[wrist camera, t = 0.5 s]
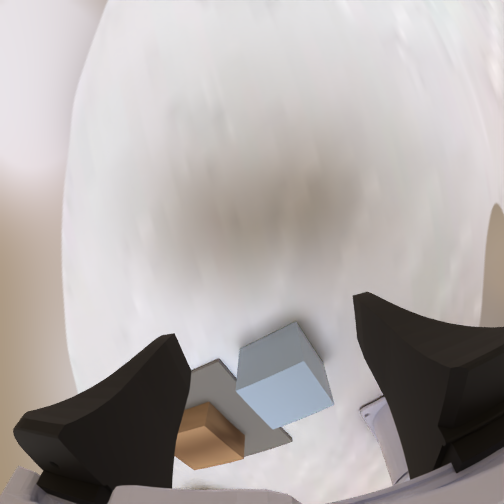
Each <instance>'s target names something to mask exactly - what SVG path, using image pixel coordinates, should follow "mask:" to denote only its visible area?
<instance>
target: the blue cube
mask: <svg viewBox="0 0 504 504" xmlns="http://www.w3.org/2000/svg"><path fill="white" fill-rule="evenodd" d="M236 392H237V393H238V394H239V395H240V396H241V397H242V398H243V400H244V401H245V402H246V403H247V404H248V405H249V406H250V407H251V408H252V409H253V410H254V411H255V412H256V413H257V414H258V415H259V416H260V417H261V418H262V419H263V420H264V421H265V422H266V423H267V424H268V425H269V426H270V427H271V428H272V429H276V428H279V427H281V426H284V425H287V424H289V423H292V422H295V421H297V420H300V419H302V418H305V417H307V416H309V415H312V414H314V413H317V412H319V411H321V410H324V409H326V408H328V407H330V406H333V405H334V401H333V397H332V394H331V390H330V386H329V382H328V379H327V375H326V371H325V368H324V364H323V362H322V361H321V359H320V358H319V356H318V355H317V353H316V351H315V350H314V348H313V347H312V345H311V344H310V342H309V341H308V339H307V338H306V336H305V334H304V333H303V331H302V330H301V328H300V327H299V325H298V324H297V322H296V321H295V322H293V323H291V324H289V325H287V326H285V327H283V328H282V329H280V330H278V331H276V332H274V333H272V334H270V335H268V336H266V337H263V338H261V339H259V340H257V341H255V342H253V343H251V344H249V345H247V346H245V347H243V348H241V349H240V351H239V361H238V371H237V381H236Z"/></svg>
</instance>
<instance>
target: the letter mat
mask: <svg viewBox="0 0 504 504" xmlns="http://www.w3.org/2000/svg"><path fill="white" fill-rule="evenodd" d="M236 381H237V379H236V378H235V377H234V376H233V375H232V374H231V372H230V371H229V370H228V369H227V368H226V367H225V365H224V364H223V363H222V362H221V361H220V359H217V360H215V361H213V362H211V363H209V364H206V365H204V366H202V367H199V368H197V369H195V370H192V372H191V383H190V390H189V395H188V399H187V402H186V406H185V410H186V409H189V408H192V407H195V406H198V405H201V404H204V403H207V402H210V403H211V404H212V405H213V406H214V407H215V408H216V409H217V410H218V411H219V412H220V413H221V414H222V415H223V416H224V417H225V418H226V419H227V420H229V421H230V422H231V423H232V424H233V425H234V426H235V427H236V428H237V429H238V430H239V431H240V432H241V433H243V434H244V435H245V448H244V457H245V456H249V455H252V454H256V453H259V452H262V451H266V450H269V449H272V448H275V447H278V446H281V445H284V444H287V443H290V442H292V438H291V437H290V436H289V435H288V434H287V433H286V432H285V431H284V430H283V429H282V428H281V427H279V428H276V429H272V428H271V427H270V426H269V425H268V424H267V423H266V422H265V421H264V420H263V419H262V418H261V417H260V416H259V415H258V414H257V413H256V412H255V411H254V410H253V409H252V408H251V407H250V406H249V405H248V404H247V403H246V402H245V401H244V400H243V398H242V397H241V396H240V395H239V394H238V393H237V392H236Z"/></svg>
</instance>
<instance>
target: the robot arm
mask: <svg viewBox="0 0 504 504" xmlns="http://www.w3.org/2000/svg"><path fill="white" fill-rule="evenodd" d="M353 302H354V311H355V320H356V330H357V339H358V342H359V345H360V347H361V350H362V353H363V356H364V358H365V360H366V362H367V364H368V366H369V368H370V370H371V372H372V374H373V376H374V377H375V379H376V381H377V383H378V385H379V387H380V389H381V391H382V393H383V395H384V397H383V398H381V399H379V400H377V401H375V402H373V403H371V404H369V405H367V406H365V407H363V408H362V409H361V410H360V414H361V416H362V417H363V419H364V420H365V422H366V424H367V425H368V427H369V428H370V430H371V432H372V433H373V435H374V436H375V438H376V440H377V441H378V443H379V445H380V448H381V450H382V453H383V456H384V459H385V462H386V466H387V469H388V472H389V475H390V478H391V481H392V484H393V486H392V487H389V488H385V489H382V490H379V491H376V492H372V493H369V494H365V495H362V496H358V497H354V498H350V499H346V500H341V501H337V502H332V503H327V504H504V327H497V328H488V327H471V326H462V325H456V324H450V323H445V322H441V321H437V320H434V319H430V318H427V317H424V316H421V315H418V314H415V313H413V312H410V311H408V310H405V309H403V308H401V307H399V306H396V305H394V304H392V303H390V302H388V301H386V300H384V299H382V298H380V297H378V296H376V295H374V294H372V293H369V292H365V293H361V294H357V295H353ZM191 372H192V371H191V369H190V367H189V365H188V363H187V360H186V358H185V356H184V354H183V352H182V349H181V347H180V345H179V343H178V340H177V338H176V336H175V333H174V334H167V335H161V336H160V337H158V338H157V339H155V340H154V341H153V342H151V343H150V344H149V345H148V346H147V347H145V348H144V349H143V350H142V351H141V352H139V353H138V354H137V355H136V356H135V357H133V358H132V359H131V360H130V361H129V362H127V363H126V364H125V365H123V366H122V367H121V368H119V369H118V370H117V371H116V372H114V373H113V374H112V375H110V376H109V377H107V378H106V379H104V380H103V381H101V382H100V383H98V384H96V385H95V386H93V387H91V388H89V389H88V390H86V391H84V392H82V393H80V394H78V395H76V396H74V397H72V398H69V399H67V400H65V401H62V402H59V403H57V404H54V405H51V406H48V407H44V408H40V409H37V410H33V411H28V412H26V413H25V414H24V415H23V416H22V418H21V419H20V421H19V422H18V423H17V425H16V426H15V428H14V430H13V433H14V436H15V439H16V440H17V442H18V444H19V445H20V446H21V447H22V449H23V450H24V451H25V452H26V453H27V454H28V455H29V456H30V457H31V458H32V459H33V460H34V462H35V463H36V464H38V466H39V467H40V468H41V469H42V470H44V471H43V472H42V474H41V476H40V475H39V474H37V473H36V472H34V471H32V470H29V469H26V468H24V467H21V466H18V467H17V468H16V470H15V472H14V473H13V475H12V477H11V478H10V480H9V482H8V483H7V485H6V487H5V489H4V490H3V492H2V494H1V496H0V504H301V503H300V502H299V501H297V500H296V499H294V498H293V497H292V496H290V495H288V494H285V493H280V492H275V491H271V490H266V489H220V490H194V489H172V476H173V463H174V454H175V446H176V440H177V435H178V431H179V428H180V424H181V420H182V417H183V413H184V410H185V406H186V402H187V399H188V395H189V390H190V383H191Z"/></svg>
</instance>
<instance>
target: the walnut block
mask: <svg viewBox="0 0 504 504" xmlns="http://www.w3.org/2000/svg"><path fill="white" fill-rule="evenodd" d="M244 448H245V435H244V434H243V433H241V432H240V431H239V430H238V429H237V428H236V427H235V426H234V425H233V424H232V423H231V422H230V421H229V420H227V419H226V418H225V417H224V416H223V415H222V414H221V413H220V412H219V411H218V410H217V409H216V408H215V407H214V406H213V405H212V404H211V403H210V402H207V403H204V404H201V405H198V406H195V407H192V408H189V409H186V410H184V413H183V417H182V420H181V424H180V428H179V431H178V435H177V440H176V446H175V454H174V456H176V457H177V458H178V459H180V460H181V461H182V462H184V463H185V464H186V465H188V466H189V467H191V468H192V469H193V470H198V469H203V468H208V467H212V466H217V465H221V464H225V463H230V462H234V461H238V460H241V459H244Z"/></svg>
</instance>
